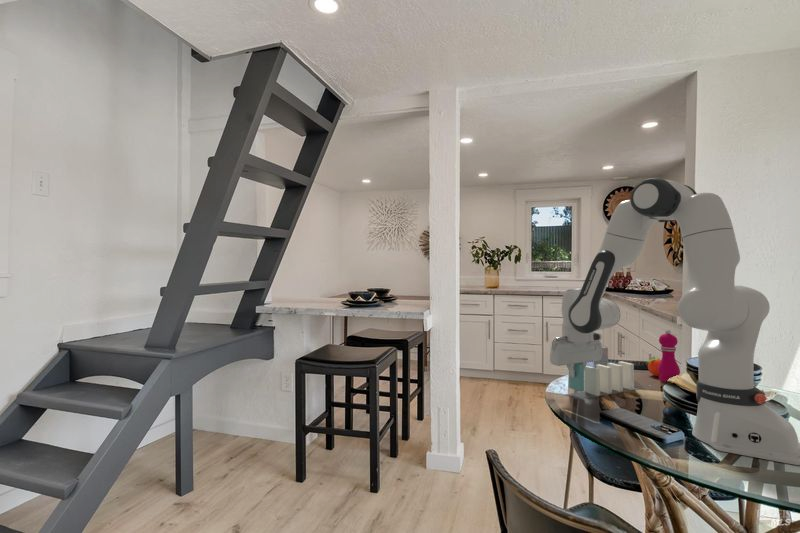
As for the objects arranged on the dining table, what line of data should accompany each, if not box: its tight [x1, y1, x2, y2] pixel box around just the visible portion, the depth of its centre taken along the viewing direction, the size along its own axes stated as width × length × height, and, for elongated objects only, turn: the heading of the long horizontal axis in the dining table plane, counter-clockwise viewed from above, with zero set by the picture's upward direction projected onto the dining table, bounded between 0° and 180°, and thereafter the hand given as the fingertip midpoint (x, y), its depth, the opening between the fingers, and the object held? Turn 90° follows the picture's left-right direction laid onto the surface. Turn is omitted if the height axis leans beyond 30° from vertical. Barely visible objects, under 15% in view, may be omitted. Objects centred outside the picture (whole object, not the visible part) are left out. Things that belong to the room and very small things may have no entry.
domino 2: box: [584, 365, 600, 397], centre depth 144 cm, size 2×5×9 cm, turn 22°
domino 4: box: [607, 362, 623, 393], centre depth 148 cm, size 2×5×9 cm, turn 23°
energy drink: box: [593, 345, 609, 368], centre depth 169 cm, size 5×5×12 cm
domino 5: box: [617, 360, 635, 391], centre depth 150 cm, size 2×5×9 cm, turn 22°
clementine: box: [646, 358, 661, 377], centre depth 168 cm, size 8×7×7 cm
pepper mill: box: [658, 329, 681, 383], centre depth 159 cm, size 7×7×20 cm
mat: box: [565, 387, 638, 401], centre depth 146 cm, size 29×6×1 cm, turn 113°
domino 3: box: [596, 364, 612, 395], centre depth 146 cm, size 2×5×9 cm, turn 23°
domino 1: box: [568, 363, 585, 392], centre depth 141 cm, size 2×5×9 cm, turn 23°
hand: (576, 376), depth 141 cm, fingers closed on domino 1, 2 cm apart
